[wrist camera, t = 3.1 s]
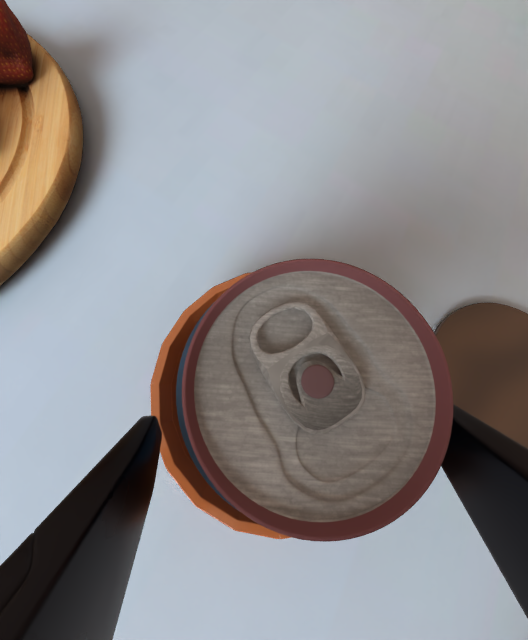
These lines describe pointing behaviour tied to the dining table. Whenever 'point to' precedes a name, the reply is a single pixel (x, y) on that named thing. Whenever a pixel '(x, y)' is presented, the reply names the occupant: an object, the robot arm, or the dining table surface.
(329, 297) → the soda can
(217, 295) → the orange bowl
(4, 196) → the wooden plate
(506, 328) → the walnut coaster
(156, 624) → the dining table surface
